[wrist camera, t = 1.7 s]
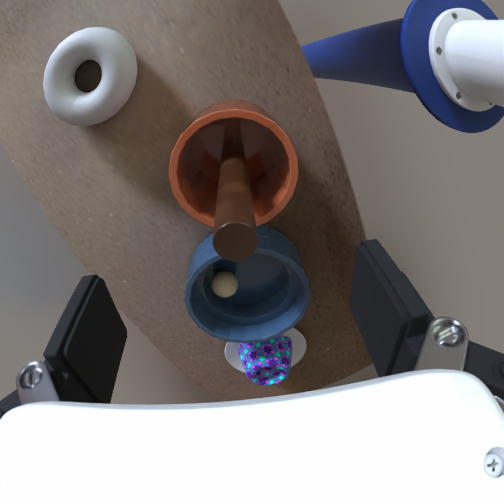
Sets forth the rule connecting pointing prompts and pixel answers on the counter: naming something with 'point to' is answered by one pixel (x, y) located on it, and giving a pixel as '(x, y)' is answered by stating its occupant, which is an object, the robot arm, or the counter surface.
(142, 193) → the counter surface
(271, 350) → the pudding
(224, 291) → the dough ball
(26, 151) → the counter surface
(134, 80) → the donut
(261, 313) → the bowl
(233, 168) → the stick
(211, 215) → the crock
